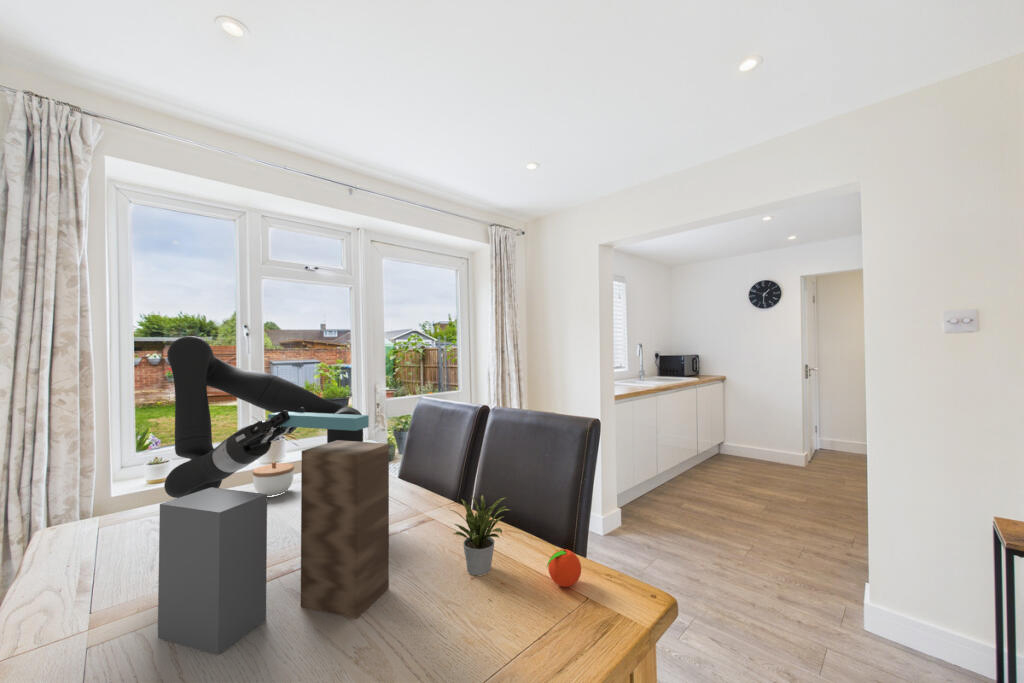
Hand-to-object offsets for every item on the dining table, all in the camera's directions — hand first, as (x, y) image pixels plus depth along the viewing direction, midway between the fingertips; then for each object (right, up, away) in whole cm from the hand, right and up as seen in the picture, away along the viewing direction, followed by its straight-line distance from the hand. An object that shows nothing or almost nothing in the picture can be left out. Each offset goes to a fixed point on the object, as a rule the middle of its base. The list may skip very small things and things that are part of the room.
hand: (295, 412), depth 86 cm
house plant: (+40, -37, +5) cm, 54 cm away
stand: (+13, -36, -5) cm, 39 cm away
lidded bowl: (-38, -39, +56) cm, 78 cm away
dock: (-7, -36, -14) cm, 39 cm away
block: (+5, -3, -2) cm, 6 cm away
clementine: (+57, -36, -1) cm, 67 cm away
